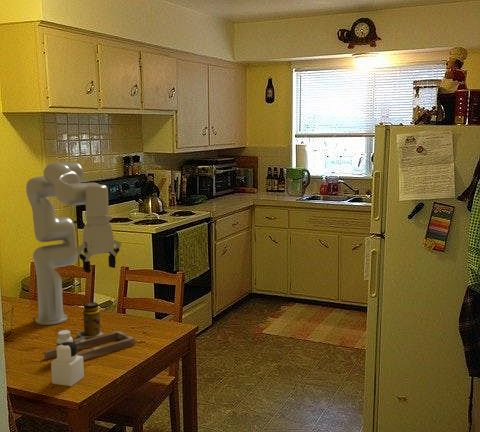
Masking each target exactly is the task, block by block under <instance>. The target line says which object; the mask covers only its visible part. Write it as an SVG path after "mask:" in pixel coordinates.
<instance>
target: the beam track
mask: <svg viewBox="0 0 480 432" xmlns="http://www.w3.org/2000/svg"><path fill="white" fill-rule="evenodd" d="M115 340H117V341H116V342H115ZM118 340H119V341H118ZM111 341H114V342H112V343H109V344H105V343H108V342H111ZM73 343H75V344H76V345H77V356H83V362H84V361H87V360H90V359H94V358H97V357H100V356H103V355H106V354H109V353H113V352H117V351H119V350H123V349H125V348H129V347H132V346H135V345H136V337H134V336H131V335H129V334H127V333H125V332H123V331H121V330H116V331H112V332H109V333H104V334H103V335H99V336H94V337H90V338H88V339H87V338H83V337H82V338H81V337H78V338H75V339H73ZM101 344H105V345H101ZM98 345H101V346H98ZM95 346H96V347H95ZM91 347H92V348H91ZM87 348H91V349H88V350H86V351H85V350H84V349H87ZM82 350H84V351H82ZM78 351H82V352H78ZM43 354H44V359H45V360H50V359H54V358H57V349H56V348H52V349H48V350H45V351H44V353H43Z"/></svg>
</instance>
